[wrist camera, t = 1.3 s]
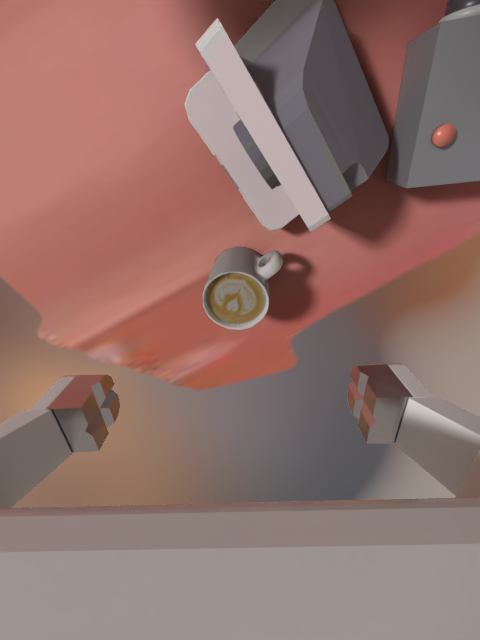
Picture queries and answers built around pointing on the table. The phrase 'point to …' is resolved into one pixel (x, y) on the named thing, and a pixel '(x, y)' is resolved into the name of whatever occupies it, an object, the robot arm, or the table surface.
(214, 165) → the table surface
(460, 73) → the camera box
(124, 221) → the table surface
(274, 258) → the coffee mug
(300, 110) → the instant camera
